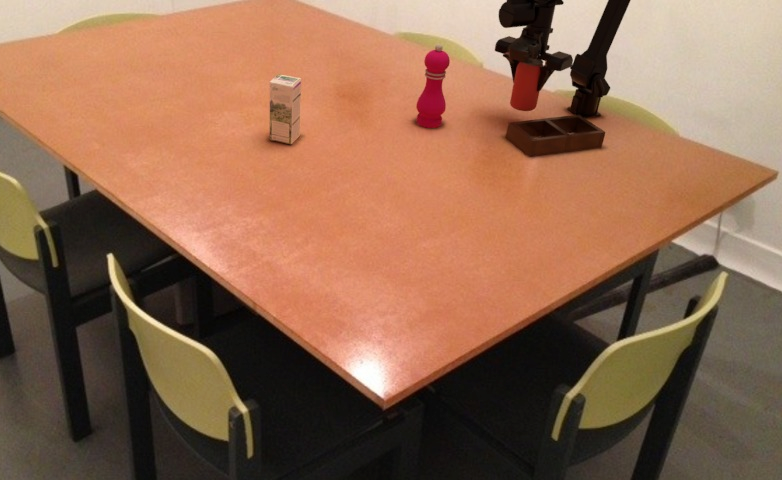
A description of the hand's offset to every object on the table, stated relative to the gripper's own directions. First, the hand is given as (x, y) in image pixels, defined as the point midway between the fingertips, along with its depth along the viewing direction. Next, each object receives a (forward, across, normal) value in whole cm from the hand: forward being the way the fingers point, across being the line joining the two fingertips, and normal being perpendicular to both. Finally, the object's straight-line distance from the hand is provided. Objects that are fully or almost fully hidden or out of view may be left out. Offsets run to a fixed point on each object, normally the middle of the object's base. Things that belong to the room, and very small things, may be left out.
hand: (526, 87), depth 192 cm
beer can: (+5, 0, 0) cm, 5 cm away
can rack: (+10, +12, -4) cm, 16 cm away
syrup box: (+9, -31, -53) cm, 62 cm away
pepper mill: (+10, -15, -19) cm, 26 cm away
